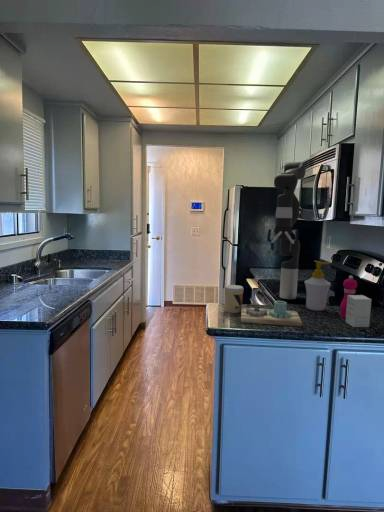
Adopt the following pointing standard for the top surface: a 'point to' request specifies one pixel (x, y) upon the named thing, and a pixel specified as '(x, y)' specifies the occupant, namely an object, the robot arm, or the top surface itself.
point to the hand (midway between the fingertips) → (281, 251)
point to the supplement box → (358, 310)
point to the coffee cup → (233, 298)
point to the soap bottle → (317, 289)
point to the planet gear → (280, 310)
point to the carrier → (268, 317)
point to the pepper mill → (347, 293)
